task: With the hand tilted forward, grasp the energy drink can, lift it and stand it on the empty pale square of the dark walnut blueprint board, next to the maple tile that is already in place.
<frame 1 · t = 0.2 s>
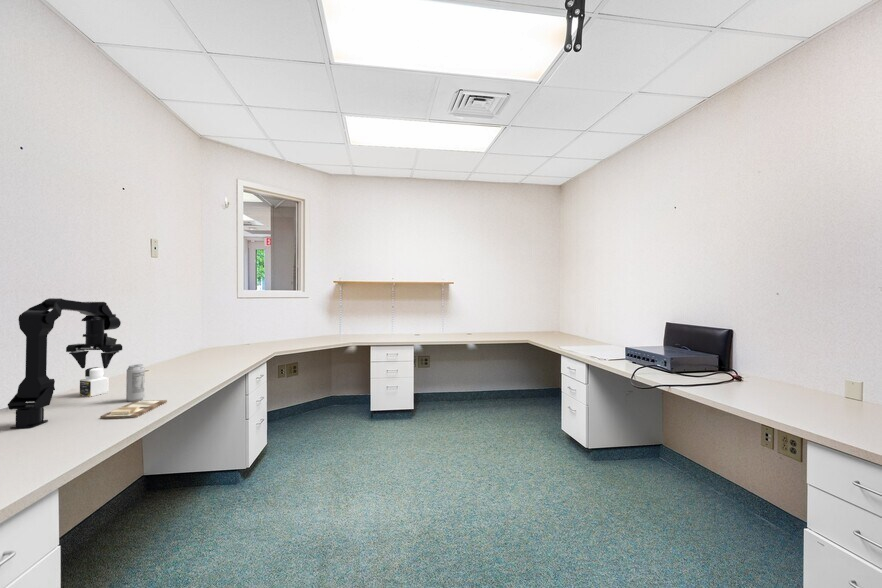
hand: (94, 368, 153), 14 cm above the table, tool pointing down, fingers open, 9 cm apart
energy drink can: (135, 400, 156), on the table
medicine bottle: (94, 394, 165), on the table
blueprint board: (136, 410, 144), on the table
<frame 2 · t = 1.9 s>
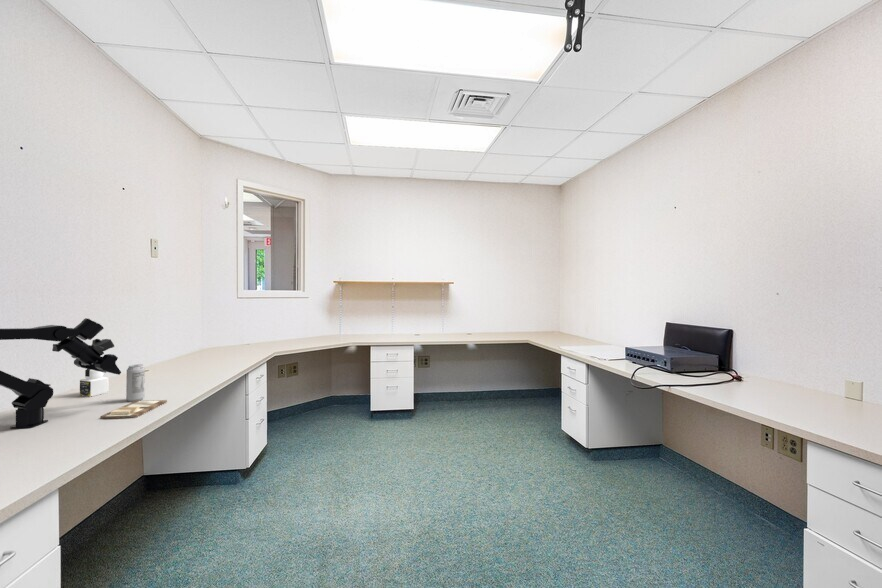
hand: (113, 372, 149), 13 cm above the table, tool tilted 45°, fingers open, 9 cm apart
nothing on the table moved.
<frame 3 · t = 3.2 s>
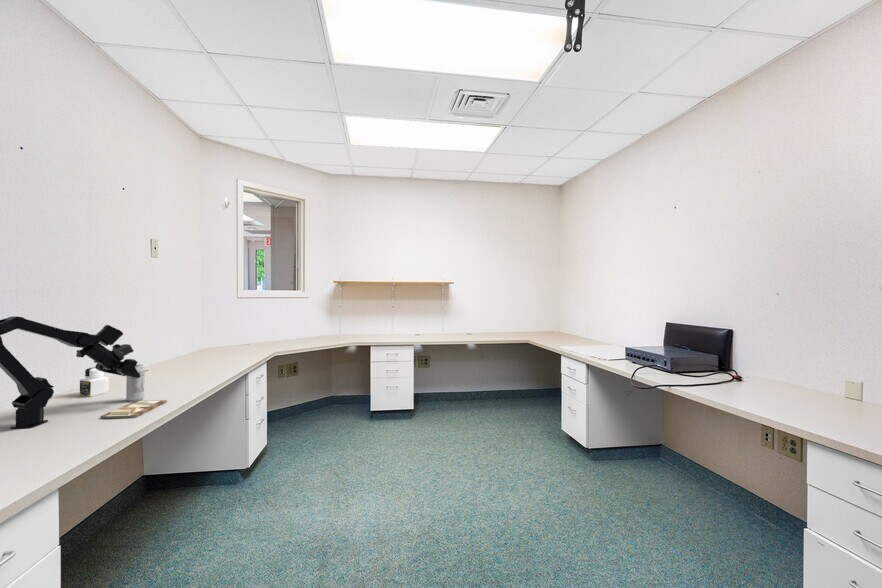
hand: (132, 376, 155), 11 cm above the table, tool tilted 45°, fingers open, 9 cm apart
nothing on the table moved.
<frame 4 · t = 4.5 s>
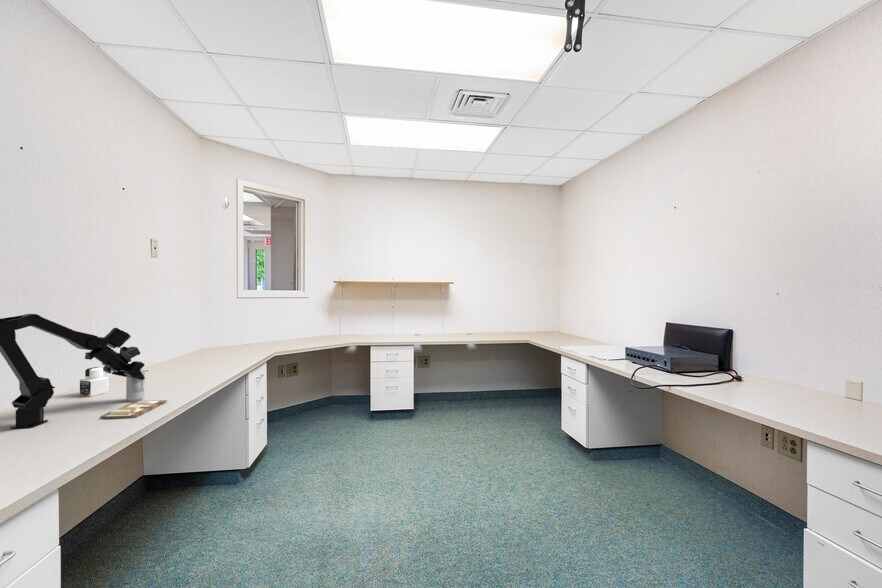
hand: (139, 378, 158), 9 cm above the table, tool tilted 45°, fingers closed on energy drink can, 6 cm apart
energy drink can: (135, 400, 156), on the table, touching gripper
everything else where it was.
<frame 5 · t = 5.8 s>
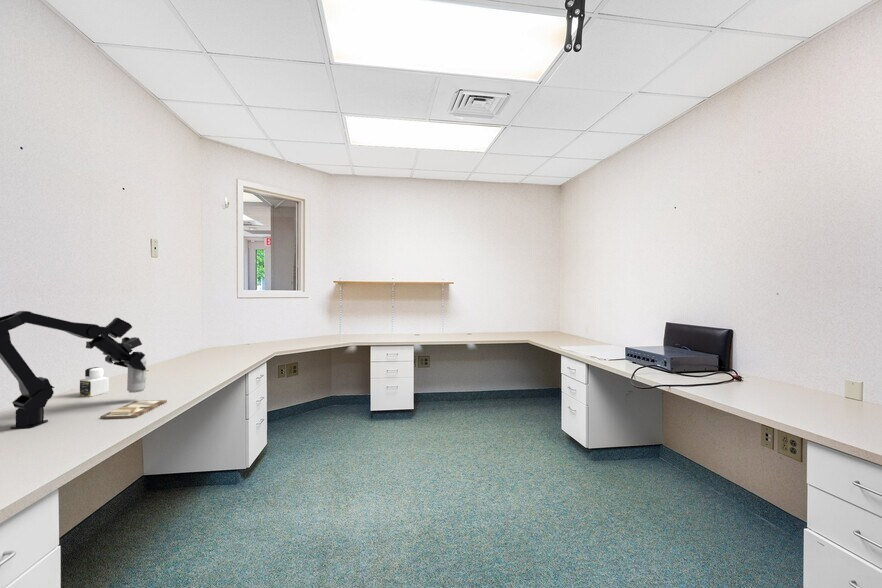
hand: (140, 369, 157), 13 cm above the table, tool tilted 45°, fingers closed on energy drink can, 6 cm apart
energy drink can: (136, 391, 156), point 4 cm above the table, touching gripper
everything else where it was.
when the fingers open (11 cm above the table, at t = 7.6 s): energy drink can stays where it is, resting on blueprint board.
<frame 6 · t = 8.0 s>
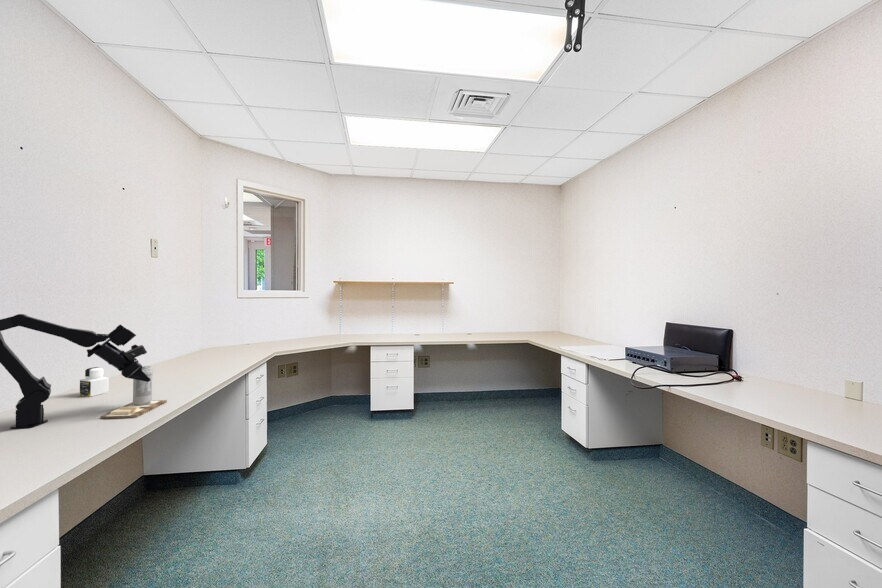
hand: (148, 378, 149), 11 cm above the table, tool tilted 45°, fingers open, 9 cm apart
energy drink can: (142, 404, 148), point 1 cm above the table, touching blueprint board
everything else where it was.
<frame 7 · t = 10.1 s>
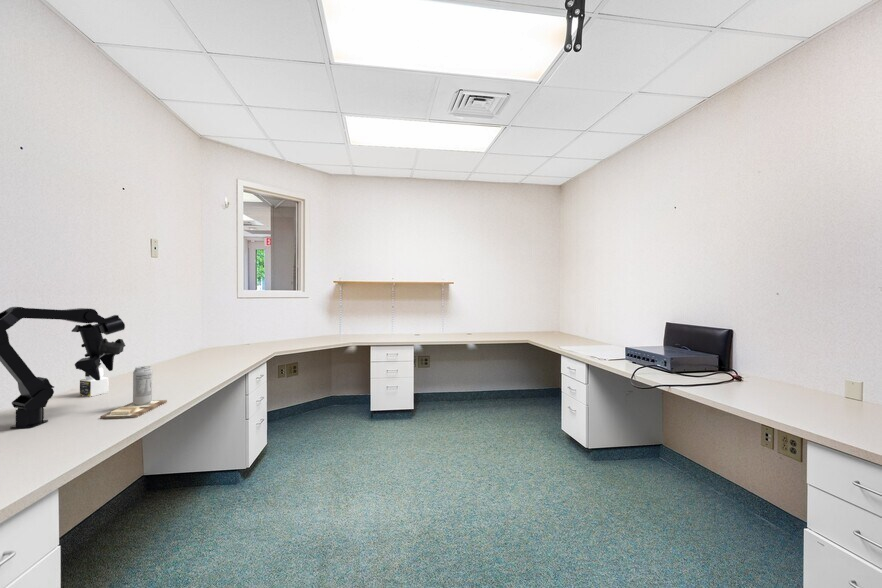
hand: (104, 375, 147), 13 cm above the table, tool pointing down, fingers open, 9 cm apart
nothing on the table moved.
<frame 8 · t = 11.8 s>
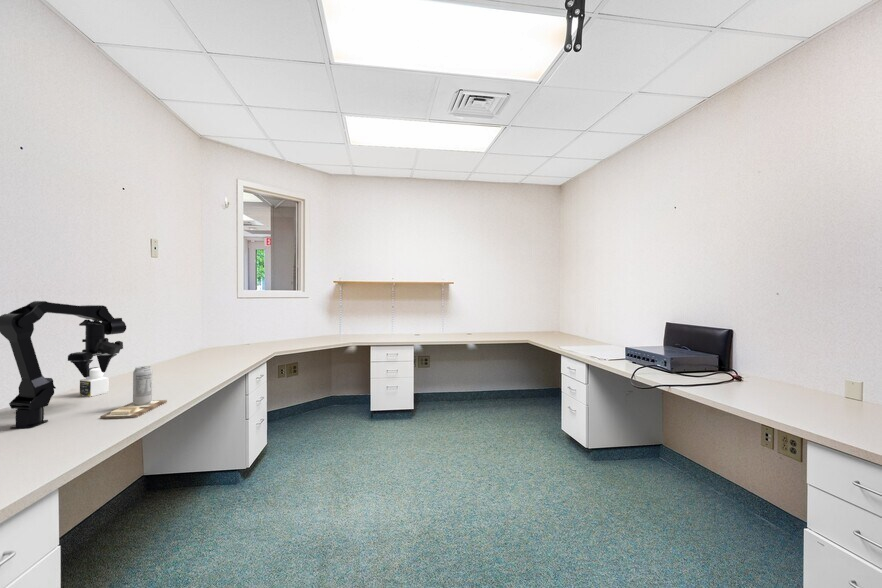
hand: (94, 374, 147), 13 cm above the table, tool pointing down, fingers open, 9 cm apart
nothing on the table moved.
at the end: energy drink can inside the target area (0.3 cm from its centre), point 0.9 cm above the table; energy drink can tilted 0°; the gripper is holding nothing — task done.
